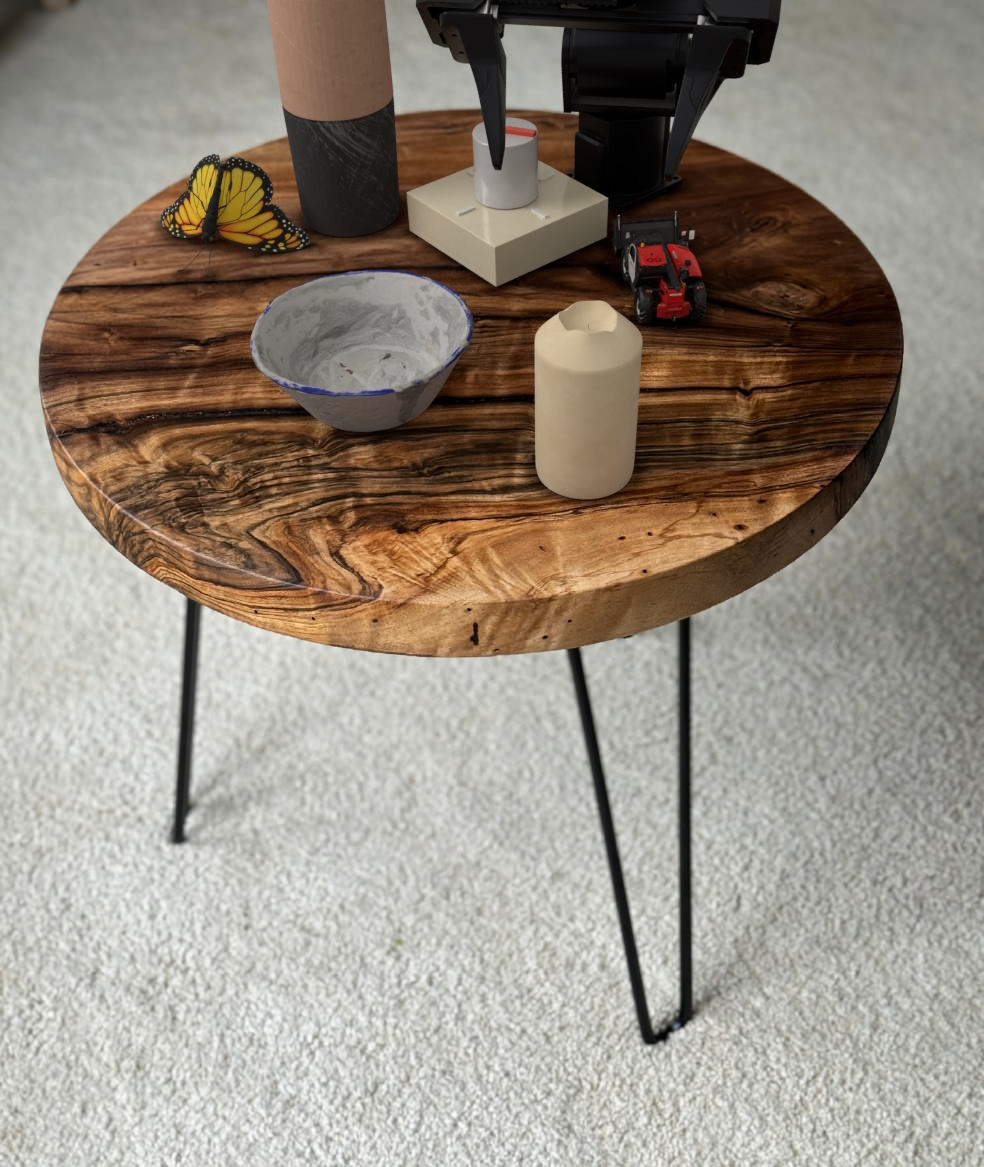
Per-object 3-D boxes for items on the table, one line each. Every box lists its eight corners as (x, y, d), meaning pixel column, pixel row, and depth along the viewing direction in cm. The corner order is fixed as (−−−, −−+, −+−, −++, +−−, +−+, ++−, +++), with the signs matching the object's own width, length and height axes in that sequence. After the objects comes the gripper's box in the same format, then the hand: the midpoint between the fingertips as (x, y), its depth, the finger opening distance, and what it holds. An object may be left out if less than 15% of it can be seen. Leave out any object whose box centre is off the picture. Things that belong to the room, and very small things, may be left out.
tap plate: (517, 186, 93) (516, 145, 90) (607, 237, 87) (608, 195, 85) (409, 230, 88) (405, 189, 86) (496, 287, 83) (494, 245, 80)
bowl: (477, 328, 79) (474, 261, 76) (475, 456, 70) (472, 387, 67) (276, 333, 79) (264, 267, 76) (249, 461, 70) (234, 393, 67)
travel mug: (414, 191, 92) (391, -102, 78) (388, 243, 87) (358, -62, 73) (316, 184, 94) (276, -106, 79) (285, 235, 88) (236, -66, 74)
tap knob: (465, 203, 85) (461, 136, 81) (488, 175, 87) (486, 108, 84) (524, 214, 83) (524, 146, 80) (547, 184, 86) (547, 117, 83)
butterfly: (266, 285, 82) (295, 305, 87) (295, 156, 82) (322, 184, 87) (110, 257, 85) (146, 278, 90) (138, 133, 85) (173, 161, 90)
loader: (609, 243, 86) (611, 180, 83) (673, 239, 86) (679, 175, 83) (639, 340, 78) (644, 274, 74) (711, 335, 78) (719, 268, 75)
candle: (627, 506, 67) (637, 351, 60) (527, 495, 68) (525, 340, 61) (639, 443, 71) (650, 290, 63) (544, 433, 71) (544, 281, 64)
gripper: (410, -222, 58) (378, 113, 59) (812, -211, 56) (772, 138, 57) (449, -103, 69) (421, 178, 70) (786, -89, 67) (753, 201, 68)
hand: (581, 174), depth 66 cm, fingers open, 9 cm apart
